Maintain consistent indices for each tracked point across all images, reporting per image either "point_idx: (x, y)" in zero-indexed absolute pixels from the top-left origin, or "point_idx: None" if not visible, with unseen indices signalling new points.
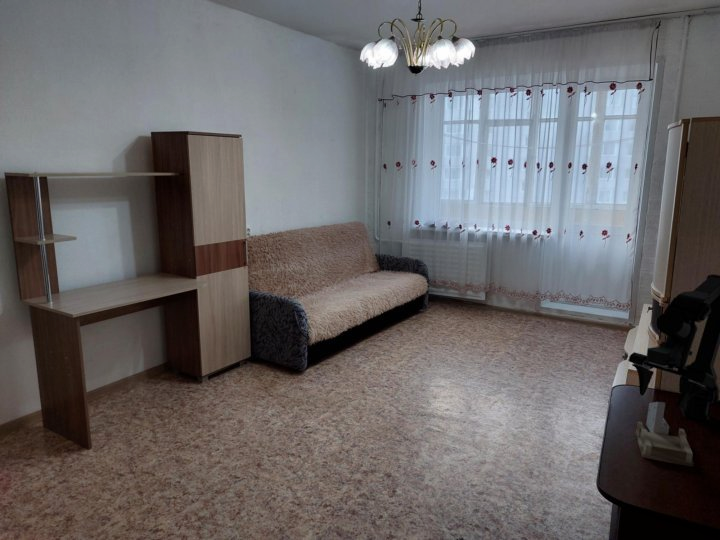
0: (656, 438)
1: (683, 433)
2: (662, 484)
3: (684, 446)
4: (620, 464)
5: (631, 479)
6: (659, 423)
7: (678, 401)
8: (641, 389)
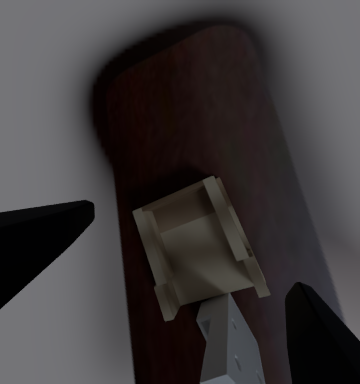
0: (214, 266)
1: (161, 296)
2: (170, 119)
3: (149, 231)
4: (245, 120)
5: (213, 90)
6: (217, 315)
7: (58, 210)
8: (324, 317)
